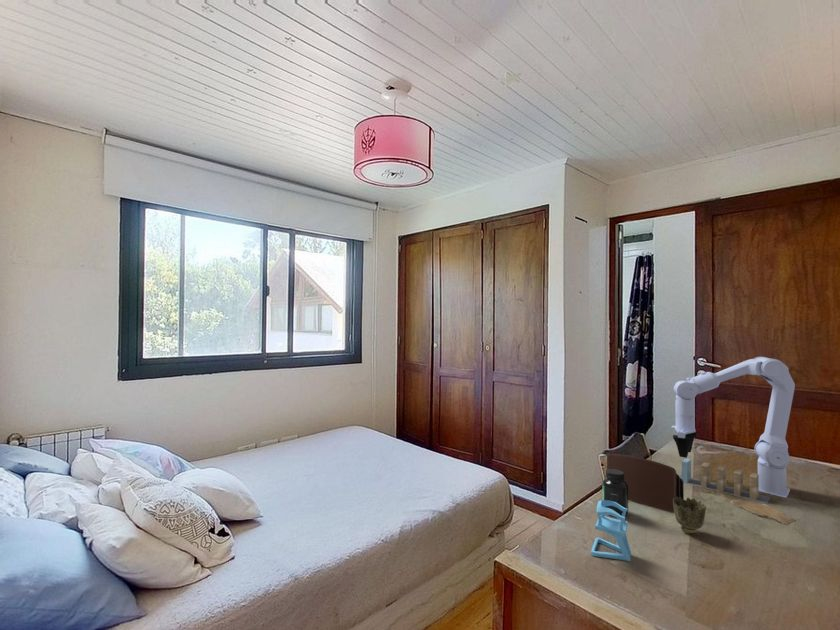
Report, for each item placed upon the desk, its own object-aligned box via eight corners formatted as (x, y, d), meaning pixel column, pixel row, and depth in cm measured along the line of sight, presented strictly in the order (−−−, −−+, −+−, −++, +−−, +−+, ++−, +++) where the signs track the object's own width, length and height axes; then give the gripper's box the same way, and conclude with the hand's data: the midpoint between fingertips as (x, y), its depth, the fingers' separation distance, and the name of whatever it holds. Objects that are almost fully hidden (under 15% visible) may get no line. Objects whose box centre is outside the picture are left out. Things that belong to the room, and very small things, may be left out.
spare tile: (681, 481, 142) (681, 461, 142) (685, 478, 145) (685, 458, 145) (687, 482, 141) (687, 462, 141) (691, 479, 144) (690, 459, 144)
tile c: (733, 494, 131) (733, 472, 131) (736, 490, 134) (736, 469, 134) (740, 496, 130) (739, 474, 130) (743, 492, 133) (742, 470, 133)
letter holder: (676, 514, 119) (675, 466, 119) (605, 494, 133) (605, 451, 133) (684, 503, 126) (683, 458, 126) (616, 485, 140) (616, 444, 140)
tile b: (716, 490, 135) (716, 469, 135) (720, 486, 138) (720, 465, 138) (722, 491, 133) (722, 470, 133) (726, 487, 137) (725, 466, 137)
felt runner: (677, 475, 149) (677, 474, 149) (770, 498, 129) (770, 497, 129) (671, 480, 144) (671, 479, 144) (767, 505, 125) (767, 503, 125)
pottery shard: (780, 529, 111) (780, 523, 111) (725, 504, 126) (725, 498, 126) (802, 526, 113) (802, 519, 113) (745, 501, 128) (745, 495, 128)
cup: (701, 527, 111) (700, 498, 111) (710, 541, 104) (710, 510, 104) (669, 523, 114) (669, 494, 114) (676, 536, 107) (676, 506, 107)
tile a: (700, 486, 138) (700, 465, 138) (704, 482, 141) (704, 462, 141) (706, 487, 137) (706, 466, 137) (709, 483, 140) (709, 463, 140)
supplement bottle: (599, 512, 120) (598, 471, 120) (607, 505, 125) (606, 465, 125) (624, 520, 115) (623, 477, 115) (631, 512, 120) (631, 471, 120)
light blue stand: (629, 566, 94) (629, 514, 94) (590, 555, 98) (590, 505, 98) (632, 550, 100) (632, 501, 100) (595, 540, 105) (596, 493, 105)
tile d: (749, 498, 128) (749, 476, 128) (752, 494, 131) (752, 472, 132) (756, 500, 127) (755, 477, 127) (758, 496, 130) (758, 474, 130)
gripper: (675, 410, 152) (676, 447, 151) (667, 417, 141) (667, 456, 141) (698, 413, 147) (698, 451, 147) (691, 420, 136) (692, 461, 136)
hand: (685, 454), depth 143 cm, fingers open, 7 cm apart
